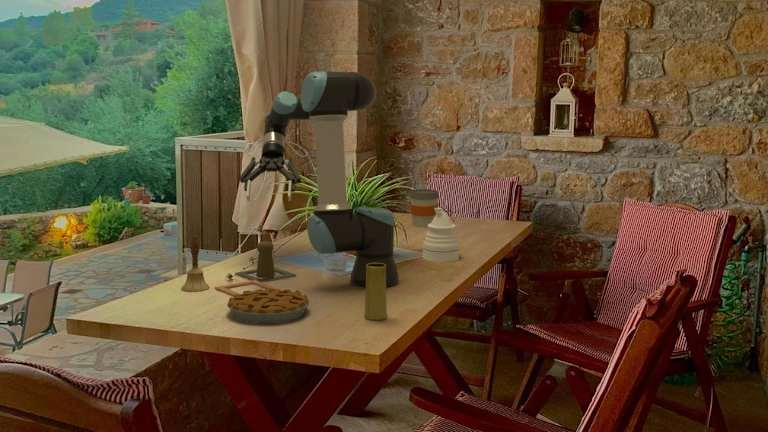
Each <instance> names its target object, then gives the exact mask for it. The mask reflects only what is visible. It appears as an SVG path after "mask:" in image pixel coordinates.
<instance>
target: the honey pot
mask: <svg viewBox="0 0 768 432" xmlns="http://www.w3.org/2000/svg"><path fill="white" fill-rule="evenodd" d="M434 209H435V212H436V213H437V214H436V215H435V217H434V219H433V220H432V222H431V223H430V224H428V225H427V226H428V227H427V228H428V230H427V232H426V234H425V237H424V241H423V244H422V247H423V248H422V258H423V259H424V260H425V261H431V262H439V263H440V262H443V263H446V262H448V263H449V262H454V261H457V260H459V258H460V242H459V240H458V237H457V233H456V230H455V229H456V227H457V226H456V224H454V223H453V222H452V220H451V218H450V217H449V215H448V213H446V212H445V211H443V209H442V207H437V208H434Z"/></svg>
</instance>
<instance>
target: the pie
mask: <svg viewBox="0 0 768 432" xmlns="http://www.w3.org/2000/svg"><path fill="white" fill-rule="evenodd" d="M227 302H228V303H227V305H226V306H227V308H229V310H230V311H231V313H232V316H233V317H234V318H235V319H236V320H237V319H239V320H238V321H241V320H243V321H242V322H245V321H248V322H247V323H252V322H258V323H257V324H277V323H276V322H281V323H286V322H285V321H288V322H291V321H294V320H296V318H297V319H298V318H300V317H301V316H303V315H304V312H305V310H306V308H307V307H308V306H309V305H310V299H308V296H307V294H303V293H302V292H300V291H299V290H296V291H292V290H291V289H284V290H282V289H280V290H277V289H272V288H271V289H269V290H267V289H263V288H262V289H261V288H260V289H259V288H258V289H256V290H253V291H251V290H244V291H243V292H242V293H240V294H235V295H234V296H231V297H230V298H229V299H228V301H227ZM293 319H294V320H293ZM290 320H291V321H290Z"/></svg>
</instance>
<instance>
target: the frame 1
mask: <svg viewBox="0 0 768 432" xmlns="http://www.w3.org/2000/svg"><path fill="white" fill-rule="evenodd" d="M250 285H253V286H257V287H259V288H262V289H264V290H269V289H271V288H272V289H277V290H281V288H279V287H276V286H273V285H271V284H268V283H266V282H259V281H257V280H248V281H247V280H246V281H242V282H236V283H231V284H225V285H219V286H214V289H215V290H216V291H219V292H221V293H223V294H225V295H229V296H231V297H233V296H234V295H235V294H241V293H239V292H237V291H235V290H231V289H234V288H238V287H244V286H250Z"/></svg>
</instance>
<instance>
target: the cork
mask: <svg viewBox="0 0 768 432" xmlns="http://www.w3.org/2000/svg"><path fill="white" fill-rule="evenodd" d="M256 250H257V252H258V255H257V256H258V257H257V258H258V259H257V265H256V266H257V267H256V269H257V273H255V277H257V278H259V279H263V278H269V277H275V276H276V272H275V271H274V267H275V266H274V264H275V263H274V258H273V251H274V244H273V242H271V241H259V242H258V243H257V245H256Z"/></svg>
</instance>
